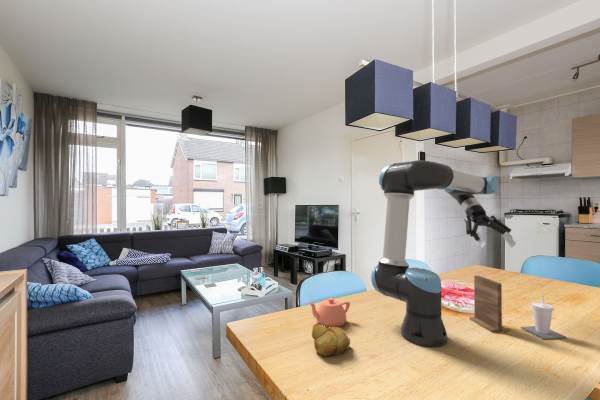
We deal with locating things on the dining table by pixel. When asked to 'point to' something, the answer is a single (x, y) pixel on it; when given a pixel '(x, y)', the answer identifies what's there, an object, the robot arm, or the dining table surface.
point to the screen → (488, 304)
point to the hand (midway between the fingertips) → (499, 246)
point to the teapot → (330, 312)
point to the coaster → (551, 334)
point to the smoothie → (542, 316)
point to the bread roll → (329, 340)
